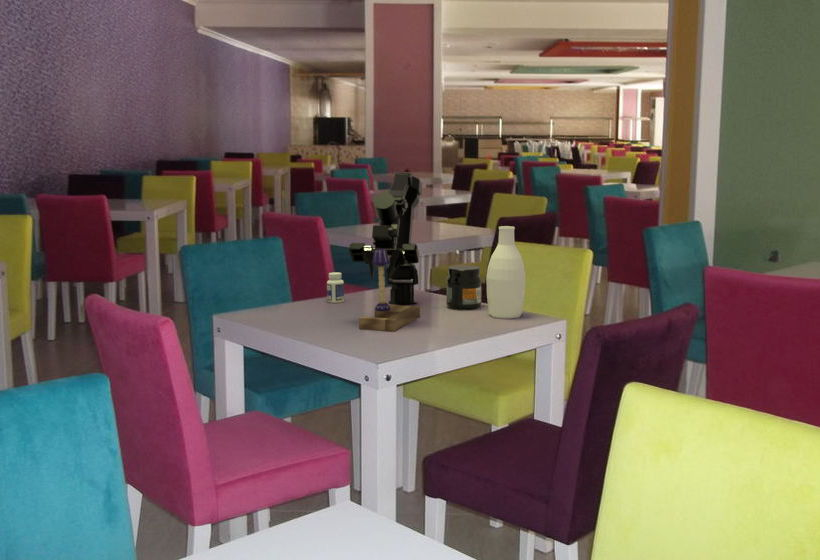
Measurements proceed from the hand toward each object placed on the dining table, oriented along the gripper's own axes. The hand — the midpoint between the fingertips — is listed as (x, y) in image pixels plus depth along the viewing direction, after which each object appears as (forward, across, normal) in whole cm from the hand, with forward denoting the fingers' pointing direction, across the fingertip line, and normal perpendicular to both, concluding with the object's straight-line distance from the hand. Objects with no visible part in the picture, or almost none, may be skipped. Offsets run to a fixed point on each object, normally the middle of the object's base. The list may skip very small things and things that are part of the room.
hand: (380, 277), depth 249 cm
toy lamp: (+6, 0, +8) cm, 9 cm away
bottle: (-4, +32, +24) cm, 40 cm away
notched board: (+6, +2, +13) cm, 14 cm away
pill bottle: (-14, -21, +33) cm, 42 cm away
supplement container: (-12, +19, +31) cm, 38 cm away
